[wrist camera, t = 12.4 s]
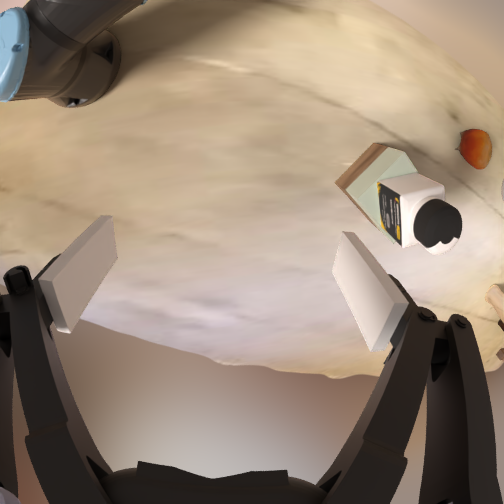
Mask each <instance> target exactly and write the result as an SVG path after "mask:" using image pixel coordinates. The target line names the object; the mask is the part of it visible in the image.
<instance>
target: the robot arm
mask: <svg viewBox="0 0 504 504" xmlns="http://www.w3.org/2000/svg"><path fill="white" fill-rule="evenodd" d="M146 2H147V0H30V1H29V2H28V3H27V4H26V5H25V6H24V7H23V8H20V7H15V8H10V9H8V10H7V11H4V12H2V13H1V14H0V101H1V102H8V101H15V100H25V99H37V98H47V99H49V100H51V101H52V102H54V103H55V104H57V105H59V106H62V107H67V108H74V107H82V106H86V105H88V104H90V103H92V102H94V101H95V100H97V99H98V98H99V97H101V96H102V95H103V94H104V93H105V92H106V90H107V89H108V88H109V87H110V85H111V84H112V82H113V80H114V79H115V77H116V74H117V72H118V69H119V65H120V60H121V50H120V45H119V42H118V40H117V39H116V37H115V36H114V35H113V34H112V33H110V32H109V31H107V30H105V29H107V28H108V27H109V26H111V25H112V24H113V23H115V22H116V21H117V20H119V19H120V18H121V17H123V16H124V15H126V14H127V13H128V12H130V11H131V10H133V9H134V8H136V7H137V6H139V5H143V4H145V3H146ZM117 258H118V257H117V250H116V243H115V234H114V226H113V216H100V217H99V218H98V219H97V220H96V221H95V222H94V223H92V224H91V225H90V226H89V227H88V228H87V229H86V230H85V231H84V232H83V233H82V234H81V235H80V236H79V237H78V238H77V239H76V240H75V241H74V242H73V243H72V244H71V245H70V246H69V247H68V248H67V249H66V250H65V251H64V252H63V253H62V254H59V255H57V256H56V257H54V258H53V259H52V260H51V261H50V262H49V263H48V264H47V265H46V266H45V267H44V268H43V270H41V271H40V272H39V273H38V275H37V276H36V277H35V278H34V279H33V280H32V278H31V275H30V272H29V269H28V267H26V266H16V267H14V268H11V269H10V270H9V271H7V272H6V273H5V275H4V277H3V279H4V282H5V285H6V287H7V290H8V292H9V294H7V295H1V294H0V504H21V503H20V501H19V500H18V482H17V474H16V464H15V456H14V445H13V426H12V398H13V378H14V367H15V372H16V378H17V383H18V388H19V393H20V398H21V402H22V406H23V410H24V415H25V418H26V422H27V425H28V429H29V435H28V436H26V437H25V443H26V447H27V451H28V454H29V456H30V459H31V462H32V465H33V468H34V470H35V473H36V475H37V478H38V480H39V482H40V485H41V487H42V489H43V492H44V494H45V496H46V498H47V500H48V502H49V504H390V502H391V500H392V498H393V496H394V494H395V492H396V489H397V487H398V485H399V483H400V481H401V478H402V476H403V474H404V471H405V469H406V466H407V458H405V457H404V452H405V449H406V446H407V443H408V441H409V438H410V435H411V433H412V430H413V427H414V424H415V421H416V417H417V414H418V411H419V408H420V404H421V401H422V397H423V394H424V390H425V386H426V384H427V426H426V444H425V456H424V466H423V474H422V482H421V488H420V496H419V504H503V501H502V497H501V492H500V487H499V483H498V479H497V468H496V467H497V464H496V443H495V432H494V423H493V415H492V408H491V402H490V396H489V391H488V386H487V381H486V376H485V372H484V367H483V363H482V359H481V356H480V352H479V348H478V345H477V341H476V338H475V335H474V331H473V328H472V325H471V323H470V322H469V321H468V320H467V318H465V317H464V316H461V315H459V314H453V315H451V317H450V318H449V320H448V322H444V321H439V320H437V317H436V315H435V314H434V313H433V312H432V311H431V310H429V309H427V308H424V307H418V306H417V305H416V303H415V302H414V301H413V299H412V298H411V297H410V295H409V294H408V293H407V292H406V290H405V289H404V287H403V286H402V285H401V283H400V282H399V281H398V280H397V279H396V278H394V277H393V276H392V275H390V274H387V273H386V271H385V270H384V269H383V268H382V266H381V265H380V264H379V262H378V261H377V260H376V259H375V257H374V256H373V255H372V254H371V252H370V251H369V250H368V249H367V248H366V246H365V245H364V244H363V243H362V241H361V240H360V239H359V238H358V237H357V235H356V234H355V233H353V232H344V231H342V235H341V239H340V243H339V247H338V251H337V254H336V258H335V262H334V266H333V269H332V274H333V276H334V278H335V280H336V282H337V283H338V285H339V287H340V289H341V291H342V293H343V295H344V297H345V299H346V301H347V303H348V305H349V307H350V310H351V312H352V314H353V316H354V318H355V320H356V322H357V324H358V326H359V328H360V330H361V332H362V335H363V337H364V339H365V341H366V343H367V345H368V348H369V350H370V352H375V351H385V349H386V347H387V345H388V343H389V341H390V342H391V344H392V346H393V348H392V350H391V352H390V353H389V355H388V357H387V358H386V360H385V362H384V363H383V364H385V366H384V368H383V370H382V373H381V375H380V377H379V380H378V382H377V384H376V386H375V388H374V390H373V392H372V394H371V397H370V398H369V401H368V402H367V405H366V407H365V408H364V411H363V412H362V414H361V416H360V418H359V420H358V422H357V424H356V425H355V427H354V429H353V431H352V433H351V434H350V436H349V438H348V439H347V441H346V443H345V444H344V446H343V448H342V449H341V451H340V453H339V454H338V456H337V457H336V459H335V461H334V462H333V464H332V465H331V467H330V468H329V469H328V471H327V472H326V473H325V474H324V475H323V477H322V478H321V479H320V480H319V481H318V483H317V484H316V485H314V484H312V483H310V482H307V481H304V480H301V479H298V478H294V477H288V473H287V470H277V471H250V472H246V473H242V474H237V475H232V476H227V477H221V478H215V479H211V478H206V477H203V476H199V475H196V474H193V473H190V472H187V471H184V470H181V469H178V468H175V467H172V466H165V465H158V464H152V463H147V462H142V461H138V465H137V468H129V469H123V470H119V471H116V472H113V471H112V470H111V468H110V467H109V466H108V464H107V463H106V462H105V460H104V459H103V458H102V456H101V454H100V453H99V451H98V449H97V447H96V445H95V443H94V441H93V439H92V437H91V435H90V434H89V431H88V429H87V427H86V425H85V423H84V421H83V418H82V416H81V414H80V412H79V409H78V407H77V405H76V402H75V400H74V397H73V395H72V393H71V390H70V387H69V385H68V382H67V379H66V376H65V374H64V370H63V367H62V364H61V361H60V358H59V355H58V352H57V348H56V345H55V342H54V338H53V334H52V331H51V329H50V325H51V323H52V322H53V321H54V324H55V326H56V328H57V330H58V331H61V332H66V333H71V332H72V330H73V328H74V327H75V325H76V323H77V321H78V320H79V318H80V316H81V315H82V313H83V311H84V310H85V308H86V306H87V305H88V303H89V301H90V300H91V298H92V296H93V295H94V293H95V292H96V290H97V289H98V287H99V285H100V284H101V282H102V281H103V279H104V278H105V276H106V275H107V273H108V272H109V270H110V269H111V267H112V266H113V264H114V263H115V261H116V260H117Z"/></svg>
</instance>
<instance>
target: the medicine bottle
mask: <svg viewBox="0 0 504 504" xmlns="http://www.w3.org/2000/svg"><path fill="white" fill-rule="evenodd" d="M377 191H378V200H379V210H380V221H381V227H382V228H383V229H384V230H385V231H386V232H387V233H388V234H389V235H390V236H391V237H392V238H393V239H395V240H396V241H397V242H398V243H399V244H400V245H401V246H402V247H403V248H407V247H410V246H413V245H416V244H419V243H420V244H421V245H422V246H423V247H424V248H425V249H426V250H428V251H429V252H430V253H431V254H433V255H441V254H444V253H447V252H448V251H450V250H451V249H452V248H453V247H454V246H455V245H456V243H457V242H458V240H459V238H460V235H461V231H462V218H461V215H460V213H459V211H458V210H457V209H456V208H455V207H453V206H451V205H450V204H448V203H446V202H445V187H444V186H443V185H442V184H440V183H438V182H436V181H434V180H431V179H429V178H427V177H425V176H423V175H421V174H418V173H411V174H407V175H402V176H397V177H393V178H388V179H384V180H379V181H377Z"/></svg>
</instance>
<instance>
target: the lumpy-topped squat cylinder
mask: <svg viewBox="0 0 504 504" xmlns="http://www.w3.org/2000/svg"><path fill="white" fill-rule="evenodd" d="M502 199H503V201H504V180H503V183H502Z"/></svg>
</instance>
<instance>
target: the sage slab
mask: <svg viewBox="0 0 504 504" xmlns="http://www.w3.org/2000/svg"><path fill="white" fill-rule="evenodd" d="M411 173H418V171H417V169H416V168H415V166H414V165H413V163H412V162H411V160H410V159H409V157H408V156H407V155H406V153H405V152H404V151H401V150H397V149H394V148H390V147H388V148H387V149H386V150H385V151H384V152H383V153H382V154H381V155H380V156H379V157H378V158H377V159H376V160H375V161H374V162H373V163H372V164H371V165H370V166H369V167H368V168H367V169H366V170H365V171H364V172H363V173H362V174H361V175H360V176H359V177H358V178H357V179H356V180H355V181H354V182H353V183H352V184H351V185H350V186H349V187H348V188H347V189H345V190H346V191H347V192H348V193H349V195H350V196H351V197H352V198H353V199H354V200H355V201H356V203H357V204H358V205H359V206H360V207H361V208H362V210H363V211H364V212H365V213H366V214H367V215H368V217H369V218H370V219H371V220H372V222H373V223H374V224H375V225H376V226H377V228H378V229H379V230H380V231H381V232H382V233H383V234H384V235H385V236H386V237H387V238H388V239H389V240H390V241H391V242H392V243H393V244H394V243H395V242H396V240H395V239H393V238H392V237H391V236H390V235H389V234H388V233H387V232H386V231H385V230H384V229H383V228H382V227H381V221H380V210H379V200H378V191H377V181H379V180H384V179H388V178H393V177H397V176H402V175H407V174H411ZM418 174H419V173H418Z"/></svg>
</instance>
